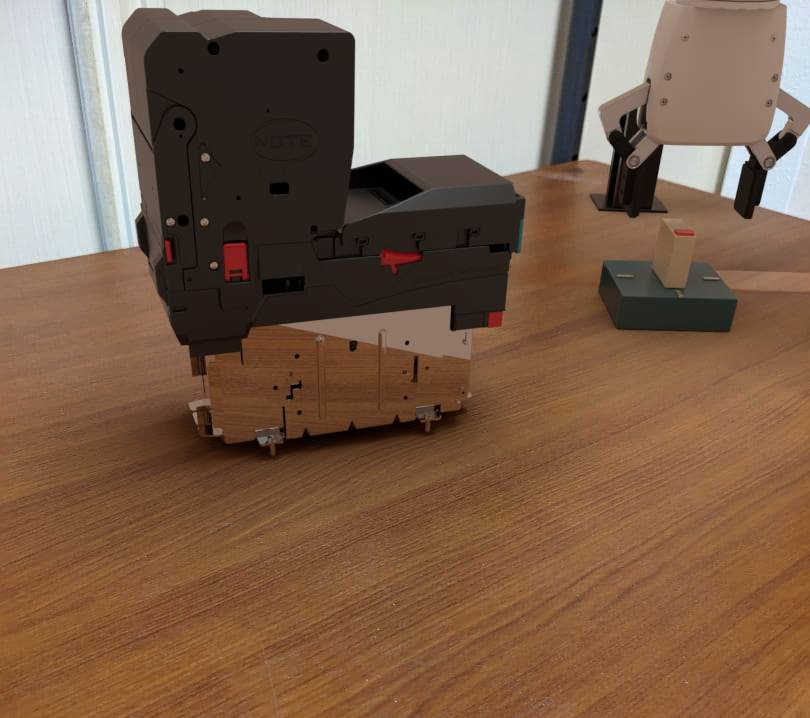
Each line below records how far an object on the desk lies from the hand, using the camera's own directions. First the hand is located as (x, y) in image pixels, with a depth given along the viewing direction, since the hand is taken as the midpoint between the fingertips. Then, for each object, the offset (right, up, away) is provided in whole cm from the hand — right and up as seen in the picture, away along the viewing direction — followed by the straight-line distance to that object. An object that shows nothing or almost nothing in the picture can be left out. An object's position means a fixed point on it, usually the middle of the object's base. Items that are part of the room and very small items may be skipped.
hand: (686, 213), depth 79 cm
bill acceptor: (-30, -19, -13) cm, 37 cm away
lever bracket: (+2, +11, +29) cm, 31 cm away
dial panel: (-1, -7, +5) cm, 9 cm away
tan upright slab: (-1, -5, +3) cm, 6 cm away
